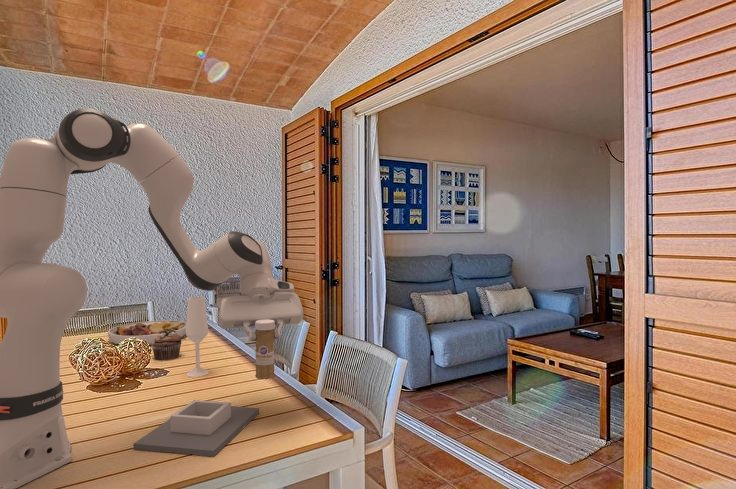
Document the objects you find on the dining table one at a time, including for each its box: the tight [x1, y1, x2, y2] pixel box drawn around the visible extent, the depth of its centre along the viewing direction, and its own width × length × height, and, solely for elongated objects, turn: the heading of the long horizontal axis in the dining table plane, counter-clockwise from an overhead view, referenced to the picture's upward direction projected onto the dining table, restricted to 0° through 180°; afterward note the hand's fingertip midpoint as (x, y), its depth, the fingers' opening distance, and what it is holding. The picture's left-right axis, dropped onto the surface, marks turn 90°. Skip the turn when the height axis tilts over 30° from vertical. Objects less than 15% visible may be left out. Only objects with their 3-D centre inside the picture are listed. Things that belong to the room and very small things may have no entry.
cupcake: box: [151, 329, 182, 361], centre depth 162 cm, size 10×10×10 cm
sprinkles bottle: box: [254, 319, 276, 380], centre depth 108 cm, size 5×5×13 cm
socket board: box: [132, 399, 260, 458], centre depth 103 cm, size 22×18×5 cm
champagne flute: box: [185, 296, 210, 378], centre depth 144 cm, size 7×7×24 cm
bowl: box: [107, 319, 187, 346], centre depth 190 cm, size 30×30×8 cm
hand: (265, 339), depth 107 cm, fingers closed on sprinkles bottle, 4 cm apart
